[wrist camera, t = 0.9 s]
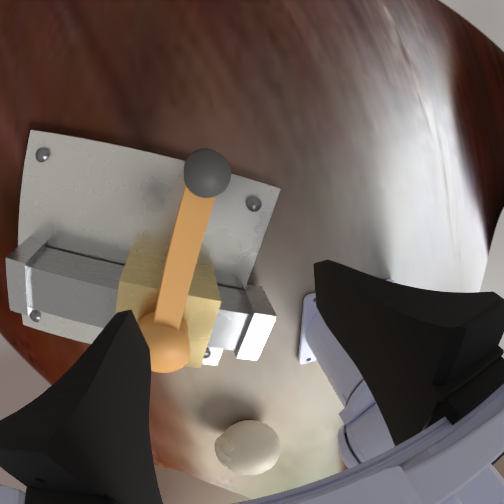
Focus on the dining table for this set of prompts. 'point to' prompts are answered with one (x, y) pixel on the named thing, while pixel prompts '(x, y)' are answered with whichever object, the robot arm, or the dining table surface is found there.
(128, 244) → the mounting plate
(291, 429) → the dining table surface
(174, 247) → the lever
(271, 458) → the baseball
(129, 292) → the pipe valve
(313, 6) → the dining table surface
